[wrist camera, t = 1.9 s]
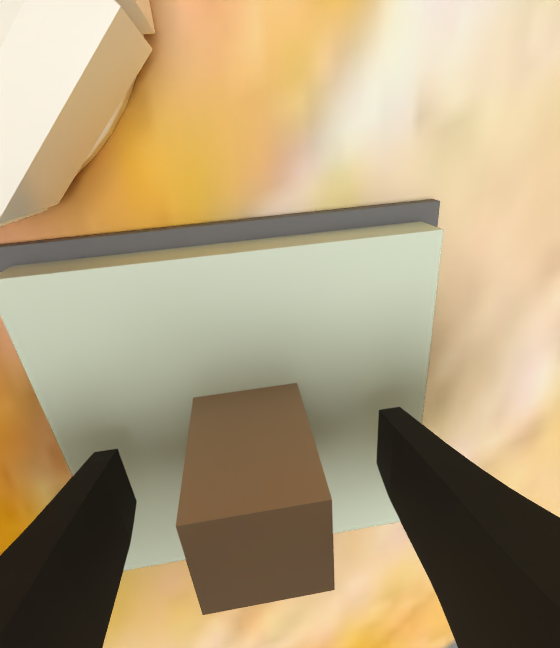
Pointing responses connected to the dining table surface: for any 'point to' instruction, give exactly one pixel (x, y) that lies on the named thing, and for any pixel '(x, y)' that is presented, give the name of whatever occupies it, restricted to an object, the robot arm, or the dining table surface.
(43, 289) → the lid
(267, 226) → the mat
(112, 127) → the dish
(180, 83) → the dining table surface
